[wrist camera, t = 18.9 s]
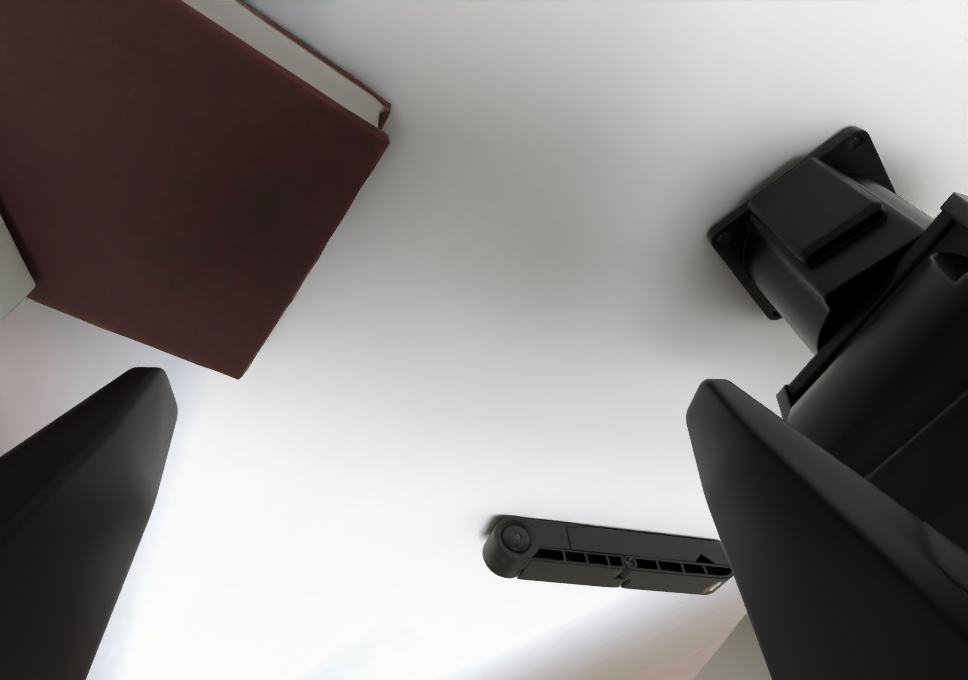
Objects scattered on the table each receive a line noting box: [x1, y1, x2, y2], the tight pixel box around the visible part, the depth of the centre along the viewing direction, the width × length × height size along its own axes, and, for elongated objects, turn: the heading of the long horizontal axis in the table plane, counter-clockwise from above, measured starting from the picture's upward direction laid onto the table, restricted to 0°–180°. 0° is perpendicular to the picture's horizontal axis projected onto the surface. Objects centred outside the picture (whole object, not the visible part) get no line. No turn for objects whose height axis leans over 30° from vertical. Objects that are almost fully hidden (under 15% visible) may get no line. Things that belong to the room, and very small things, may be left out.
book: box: [0, 0, 391, 380], centre depth 16 cm, size 12×19×3 cm, turn 54°
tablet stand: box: [483, 516, 733, 595], centre depth 37 cm, size 18×3×3 cm, turn 72°
